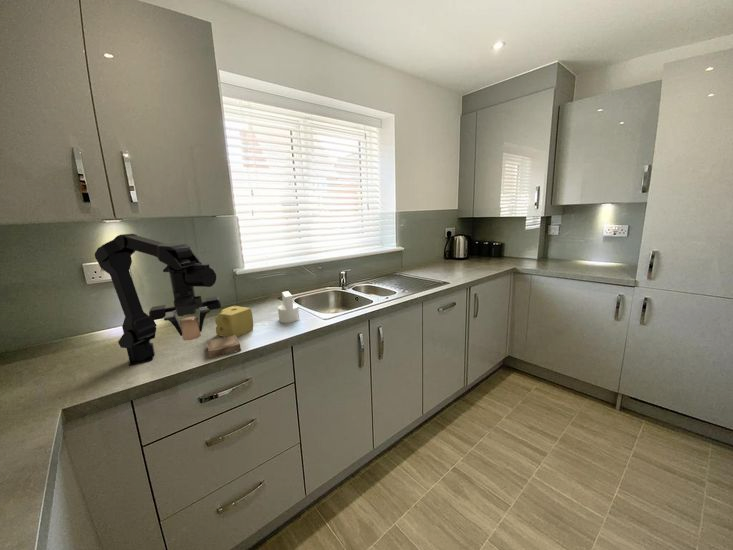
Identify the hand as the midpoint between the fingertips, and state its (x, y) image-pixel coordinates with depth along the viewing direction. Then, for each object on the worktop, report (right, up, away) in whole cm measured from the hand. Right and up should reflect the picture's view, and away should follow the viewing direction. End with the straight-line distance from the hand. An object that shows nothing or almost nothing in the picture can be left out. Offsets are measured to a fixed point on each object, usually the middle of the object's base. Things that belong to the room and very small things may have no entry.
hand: (191, 333), depth 94 cm
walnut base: (+4, -8, +14) cm, 16 cm away
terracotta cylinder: (0, -1, 0) cm, 1 cm away
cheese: (+2, -5, +28) cm, 29 cm away
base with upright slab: (+20, -2, +42) cm, 46 cm away
